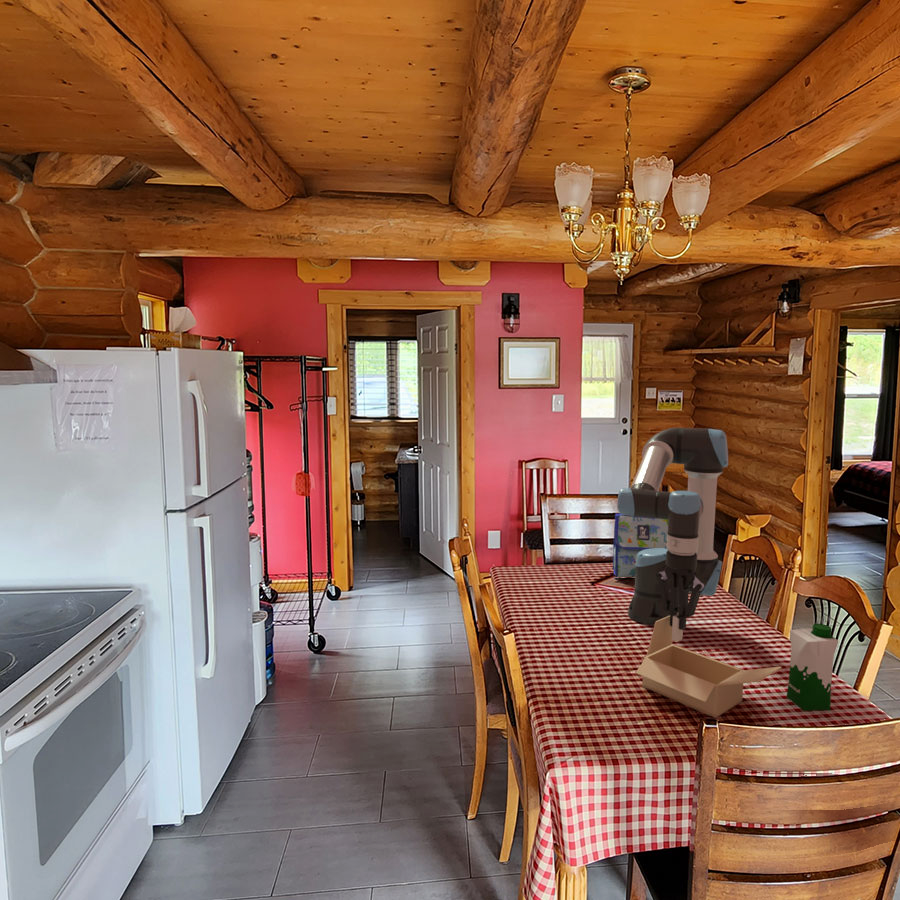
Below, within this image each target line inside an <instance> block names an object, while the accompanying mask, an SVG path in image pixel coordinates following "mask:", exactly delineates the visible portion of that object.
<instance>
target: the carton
mask: <svg viewBox="0 0 900 900" xmlns="http://www.w3.org/2000/svg"><path fill="white" fill-rule="evenodd" d="M741 671H744V669H742V668H741V667H737V666H734V665H732V664H729V663H726V662H724V661H720V660H717V659H715V658H712V657H709V656H707V655H704V654H702V653H699V652H696V651H692V650H690V649H687V648H684V647H682V646H679V645H676V644H672V645H669V646H667V647H665V648H663V649H661V650H659V651H656V652H654V653H652V654H650V655H646V656H644V657H643V661H642V663H641V664H640V666H639V667H638V668H637V670H636V672H635V674H637V675H638V676H640V677H642V683H641V684H642V688H644V689H647V690H650V691H651V692H652V691H653V692H655V693H657V694H658V695H661V696H664V697H666V698H668V699H670V700H672V701H674V702H677V703H680V704H682V705H684V706H686V707H689V708H690V709H693V710H696V711H698V712H700V713H702V714H704V715H707V716H710V717H712V718H713V719H717V718H718V717H720V716H721V715H723V714H724V713H726V712H728V711H729V710H731V709H732V708H734V707H735V706H737V705H738V704H740V703H741V702H743V695H744V683H740V684H729V685H720V684H721V683H722V682H724V681H726V680H727V679H729V678H731V677H733V676H734V675H736V674H738V673H740V672H741Z"/></svg>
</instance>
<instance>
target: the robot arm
mask: <svg viewBox="0 0 900 900" xmlns="http://www.w3.org/2000/svg"><path fill="white" fill-rule="evenodd" d="M727 440H728V439H727V434H726V432H724V430H722V429H716V428H715V429H714V428H695V427H694V428H693V427H689V428H688V427H670V428H667V429H663V430H661V431H659V432H657V433H655V434H654V435H652V436H651V437H650V438H649V439H648V440H647V441H646V442H645V444H644V446H643V448H642V451H641V456H642V459H641V462H640V464H639V466H638V468H637V472H636V474H635V476H634V479H633V482H632V483H631V486H630V487H626V488H620V489H619V492H618V495H617V511H618V514H623V515H629V516H637V517H648V518H658V519H667V520H668V532H667V549H665V548H651V549H645V550H642V551H640V552H639V553H638V554H637V557H636V564H635V566H636V569H635V579H634V593H633V595H632V598H631V601H630V603H629V605H628V607H627V608H628V609H627V610H628V611H627V615H628V618H630V619H631V620H632V621H635V622H638V623H640V624H643V625H644V624H645V625H650V626H654V625H655V621H657V620H660V619H662V618H665V617H667V616H670V626H671V627H672V641H673V642H675V643H677V642H680V641H682V640H683V637H684V636H683V634H684V632H683V631H684V630H686V628H687V618H690V617H694V616H695V612H696V610H697V607H698V603H699V600H700V596H707V597H713V596H715V594H716V593H717V589H718V584H719V580H720V575H721V571H722V566H723V561H721V560H718V559H719V558H718V557H719V556H718V554H717V552H716V551H715V550H714V540H715V539H714V537H715V535H714V534H715V524H716V523H715V519H716V504H717V503H716V502H717V485H718V478H719V476H720V475H722V474H723V472H724V468H727V467H728V466H729V449H728V441H727ZM672 464H677V465H683V471H684V472H685V474H686V475H687V476H688V477H687V478H688V479H687V490H674V491H663V490H660V488H661V485H662V482H663V478H664V476H665V473H666V472H667V471H666V469H668V468H667V467H668V466H670V465H672ZM689 595H690V597H689ZM677 613H678V614H677Z"/></svg>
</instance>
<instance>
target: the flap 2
mask: <svg viewBox="0 0 900 900" xmlns="http://www.w3.org/2000/svg"><path fill="white" fill-rule="evenodd" d="M781 669H783V668H782V666H774V667H772V666H771V667H763V668H756V669H755V668H754V669H746V670H744V669H743V670H744V671H741V672H740V673H738V674H736V675H734V676H733V677H731V678H729V679H727V680H726V681H724V682H722V683H721V684H720V685H729V684H740V683H743V684H748V683H749V684H750V683H760V682H761V681H763V680H764V679H766V678H768V677H770V676H771V675H773V674H775V673H776V672H777V671H779V670H781Z"/></svg>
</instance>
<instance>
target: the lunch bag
mask: <svg viewBox="0 0 900 900" xmlns="http://www.w3.org/2000/svg"><path fill="white" fill-rule="evenodd" d="M613 531H614V532H613V543H612V546H613V547H612V548H613V552H612V555H613V557H612V570H613V575H615V576H614V578H615V577H635V569H636V566H635V564H636V557H637V554H638V553H639V552H640V551H642V550H645V549H651V548H665V549H667V532H668V520H667V519H658V518H648V517H637V516H629V515H623V514H620V513H615V514H614V529H613Z"/></svg>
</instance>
